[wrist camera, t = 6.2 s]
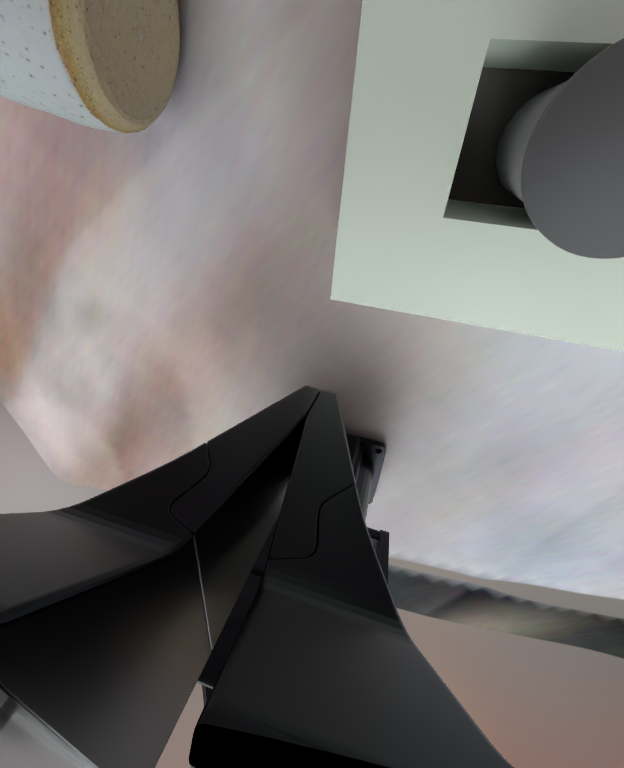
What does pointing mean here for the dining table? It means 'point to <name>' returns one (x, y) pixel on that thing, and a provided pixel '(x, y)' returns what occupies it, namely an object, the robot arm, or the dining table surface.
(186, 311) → the dining table surface
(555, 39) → the block
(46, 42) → the ceramic mug
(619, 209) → the graphite plug
